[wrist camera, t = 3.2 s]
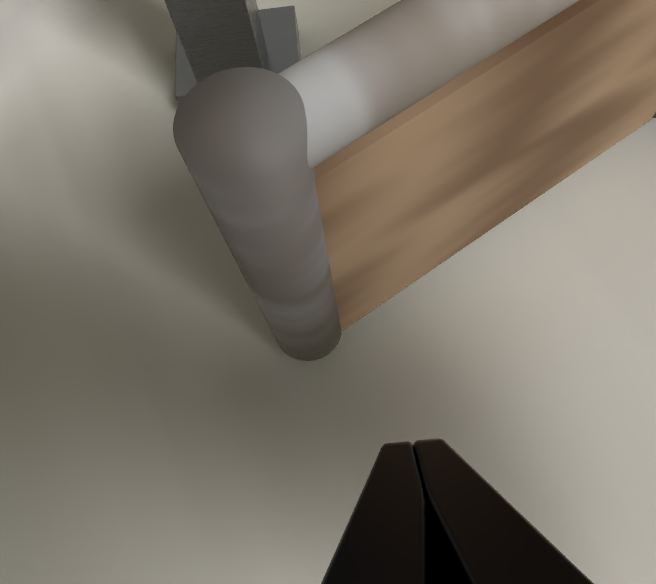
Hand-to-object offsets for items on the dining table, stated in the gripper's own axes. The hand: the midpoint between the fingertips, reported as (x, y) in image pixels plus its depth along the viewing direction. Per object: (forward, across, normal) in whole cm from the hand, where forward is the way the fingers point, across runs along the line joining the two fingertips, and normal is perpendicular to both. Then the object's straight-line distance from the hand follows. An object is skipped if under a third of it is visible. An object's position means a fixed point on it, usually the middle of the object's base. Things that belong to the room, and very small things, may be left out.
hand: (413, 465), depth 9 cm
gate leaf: (+10, -4, -1) cm, 11 cm away
